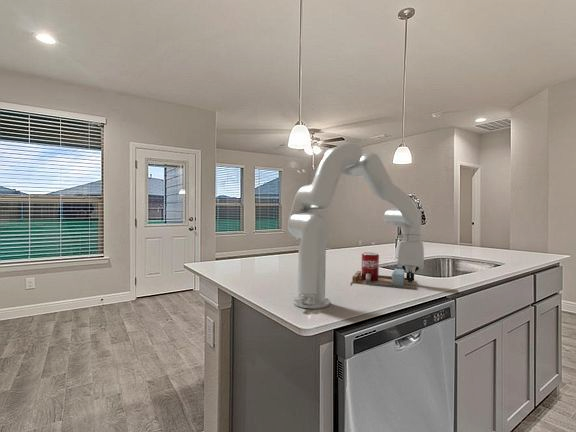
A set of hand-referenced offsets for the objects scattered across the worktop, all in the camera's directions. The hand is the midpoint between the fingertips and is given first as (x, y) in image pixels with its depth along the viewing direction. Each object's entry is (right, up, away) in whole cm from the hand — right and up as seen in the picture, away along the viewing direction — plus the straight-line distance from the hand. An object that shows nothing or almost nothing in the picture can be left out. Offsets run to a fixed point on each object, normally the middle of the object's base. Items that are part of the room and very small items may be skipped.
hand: (410, 281), depth 133 cm
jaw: (-4, -1, +2) cm, 5 cm away
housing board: (-10, -2, +4) cm, 11 cm away
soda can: (-15, -1, +6) cm, 17 cm away
